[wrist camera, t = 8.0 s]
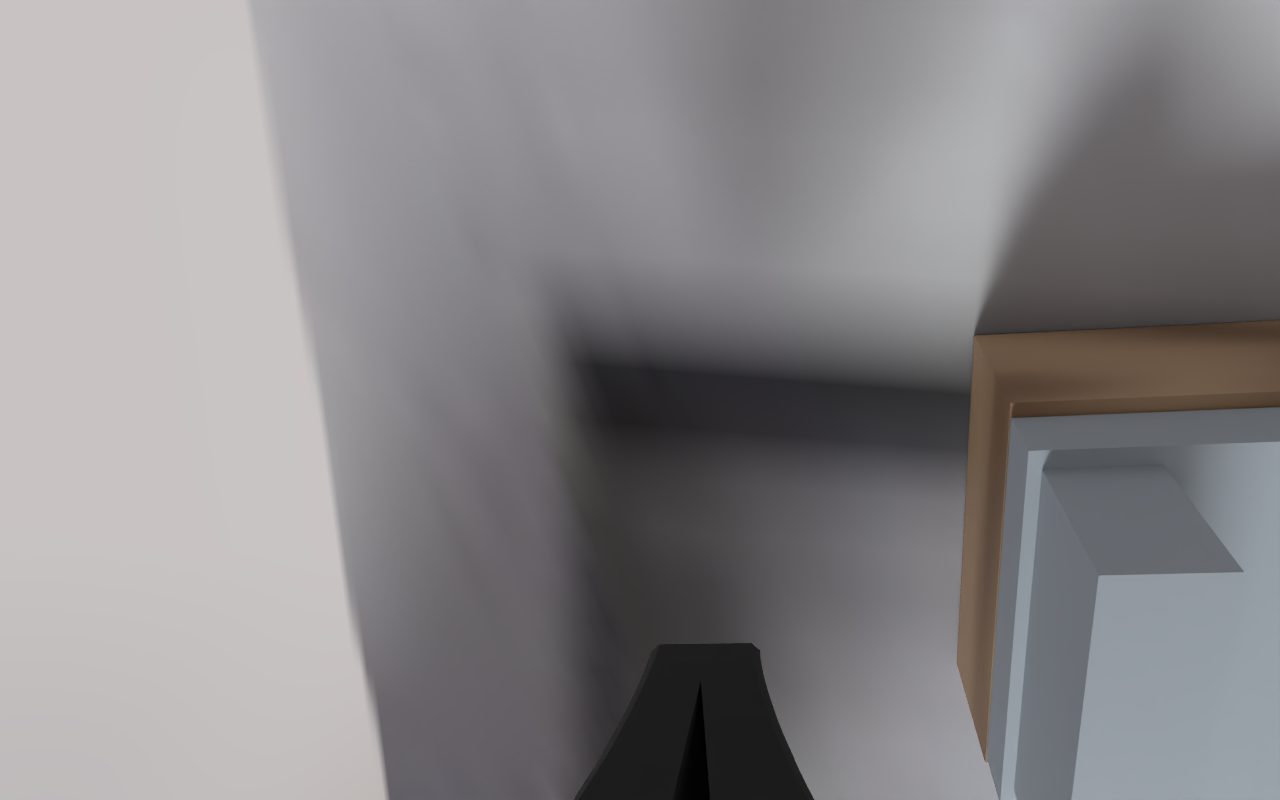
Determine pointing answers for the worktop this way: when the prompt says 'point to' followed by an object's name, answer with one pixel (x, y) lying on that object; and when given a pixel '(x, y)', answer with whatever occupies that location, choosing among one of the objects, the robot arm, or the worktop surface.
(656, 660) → the robot arm
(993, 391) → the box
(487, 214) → the worktop surface
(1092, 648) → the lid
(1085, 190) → the worktop surface
